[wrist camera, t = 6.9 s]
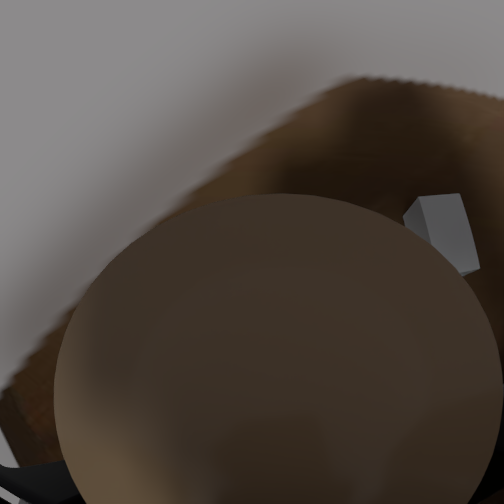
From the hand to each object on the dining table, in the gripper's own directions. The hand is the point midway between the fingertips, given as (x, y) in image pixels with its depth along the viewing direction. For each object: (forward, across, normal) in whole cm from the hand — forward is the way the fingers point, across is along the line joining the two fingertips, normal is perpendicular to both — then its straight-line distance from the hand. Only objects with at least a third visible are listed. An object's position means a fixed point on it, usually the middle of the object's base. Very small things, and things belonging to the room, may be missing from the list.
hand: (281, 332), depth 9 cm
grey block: (+12, -13, +6) cm, 19 cm away
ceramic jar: (+4, 0, +6) cm, 7 cm away
